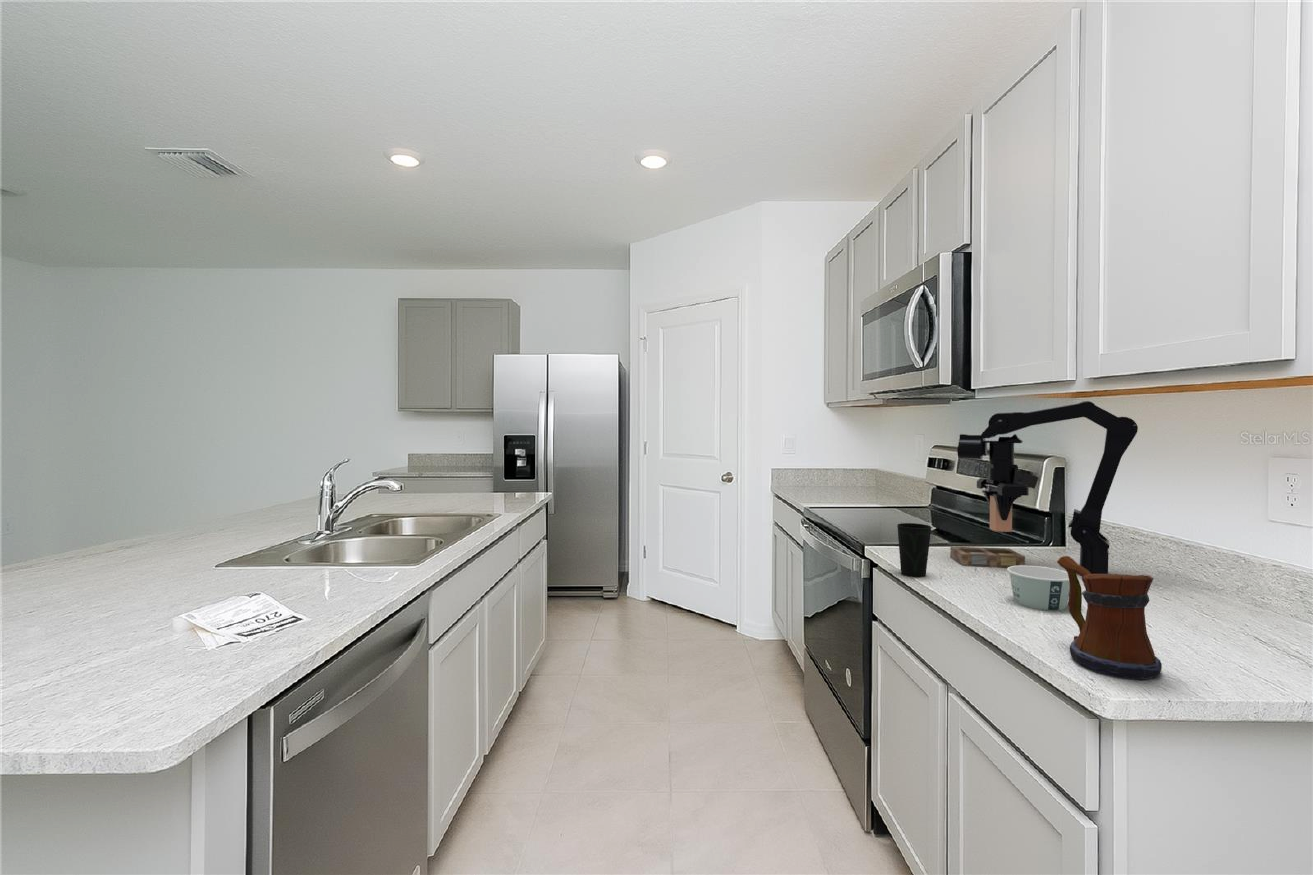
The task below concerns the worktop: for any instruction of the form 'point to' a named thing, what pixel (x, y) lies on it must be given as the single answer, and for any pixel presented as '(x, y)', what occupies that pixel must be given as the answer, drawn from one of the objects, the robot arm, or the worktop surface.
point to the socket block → (986, 557)
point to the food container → (1040, 587)
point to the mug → (1111, 623)
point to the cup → (913, 548)
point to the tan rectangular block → (999, 518)
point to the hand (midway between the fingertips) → (1000, 519)
